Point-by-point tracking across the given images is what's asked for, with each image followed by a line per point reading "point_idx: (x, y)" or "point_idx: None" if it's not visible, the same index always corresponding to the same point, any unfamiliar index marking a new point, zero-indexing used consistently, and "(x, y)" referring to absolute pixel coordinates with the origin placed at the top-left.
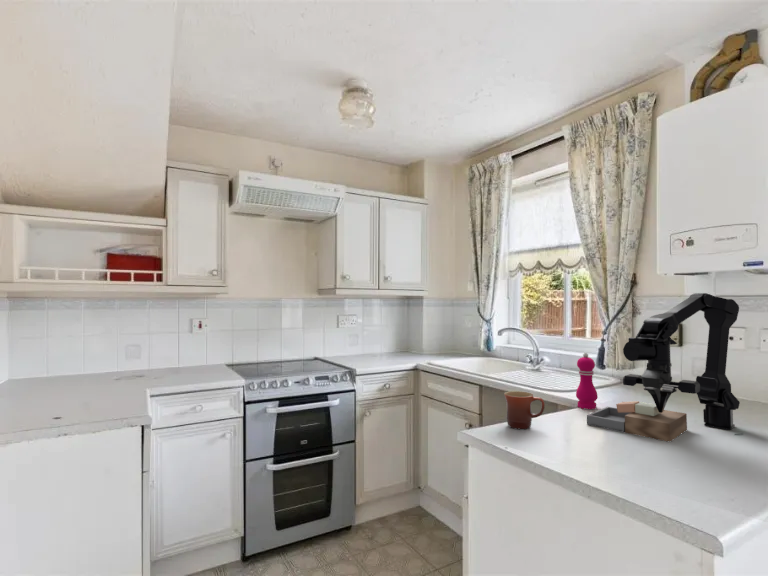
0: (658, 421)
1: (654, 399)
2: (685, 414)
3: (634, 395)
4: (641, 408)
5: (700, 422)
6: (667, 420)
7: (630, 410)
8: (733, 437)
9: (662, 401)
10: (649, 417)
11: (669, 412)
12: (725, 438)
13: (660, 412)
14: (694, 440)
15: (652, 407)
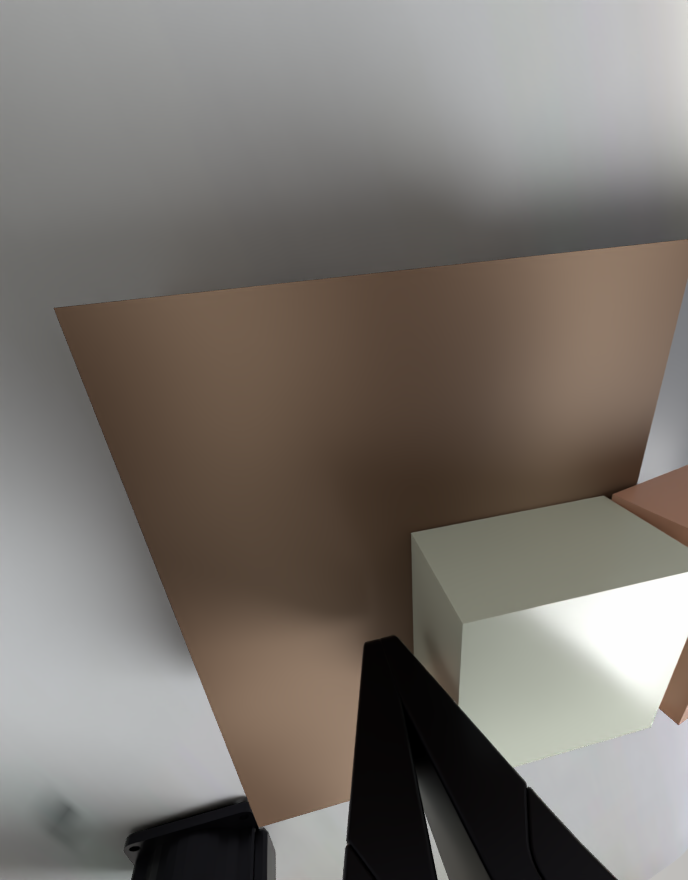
0: (243, 312)
1: (550, 839)
2: (252, 807)
3: (627, 873)
4: (594, 553)
5: (296, 821)
6: (204, 482)
7: (669, 492)
8: (23, 763)
9: (383, 863)
10: (425, 435)
11: None
12: (27, 717)
13: (377, 639)
14: (88, 524)
15: (478, 618)
